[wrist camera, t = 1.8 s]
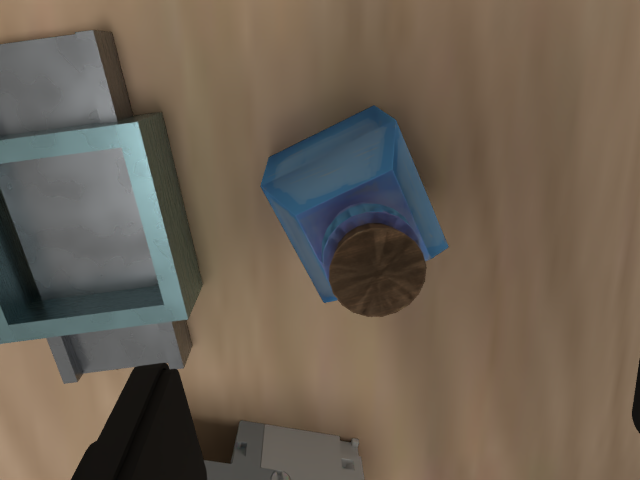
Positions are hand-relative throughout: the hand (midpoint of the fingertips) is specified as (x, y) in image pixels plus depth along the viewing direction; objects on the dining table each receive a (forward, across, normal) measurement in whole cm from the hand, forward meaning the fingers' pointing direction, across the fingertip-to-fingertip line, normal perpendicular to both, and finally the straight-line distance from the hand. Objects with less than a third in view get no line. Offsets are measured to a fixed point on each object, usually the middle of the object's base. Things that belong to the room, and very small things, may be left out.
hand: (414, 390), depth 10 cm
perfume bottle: (+18, 0, +1) cm, 18 cm away
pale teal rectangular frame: (+18, +14, +1) cm, 23 cm away
